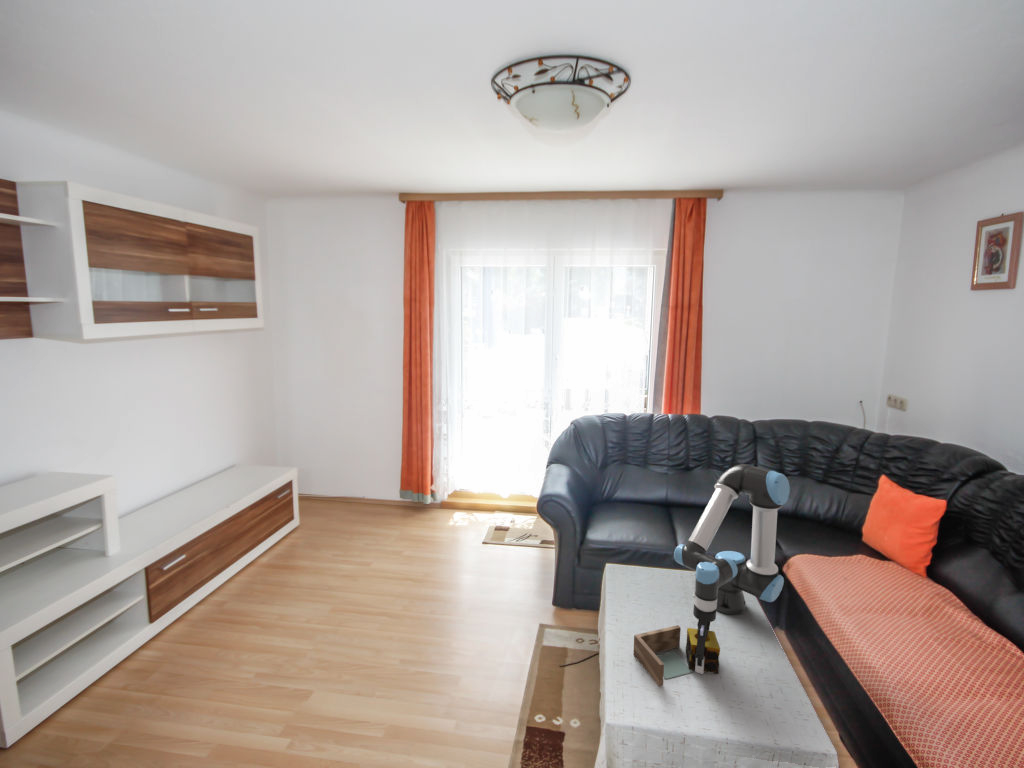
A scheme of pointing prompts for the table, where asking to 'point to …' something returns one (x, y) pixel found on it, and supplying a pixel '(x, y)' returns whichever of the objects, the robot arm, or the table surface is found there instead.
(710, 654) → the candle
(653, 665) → the corner walls
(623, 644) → the table surface
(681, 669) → the mat
